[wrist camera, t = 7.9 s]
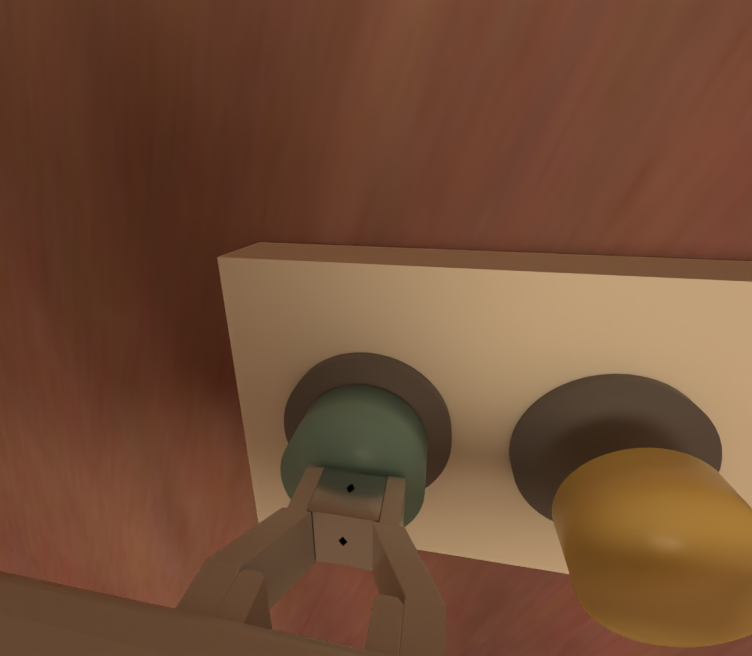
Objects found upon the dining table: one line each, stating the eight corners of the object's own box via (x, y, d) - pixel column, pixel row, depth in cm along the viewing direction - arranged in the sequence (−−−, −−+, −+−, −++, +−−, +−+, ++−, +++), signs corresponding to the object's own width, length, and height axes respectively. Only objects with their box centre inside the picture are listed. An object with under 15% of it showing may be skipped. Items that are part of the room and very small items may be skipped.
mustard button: (539, 554, 11) (557, 626, 10) (569, 437, 10) (598, 499, 8) (700, 579, 11) (752, 662, 9) (761, 459, 9) (841, 530, 7)
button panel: (284, 474, 19) (252, 535, 16) (258, 242, 15) (206, 261, 12) (877, 556, 15) (994, 659, 12) (1092, 274, 11) (1374, 316, 8)
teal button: (307, 480, 14) (286, 526, 12) (298, 379, 12) (273, 414, 11) (424, 496, 13) (420, 547, 12) (432, 392, 12) (429, 432, 10)
